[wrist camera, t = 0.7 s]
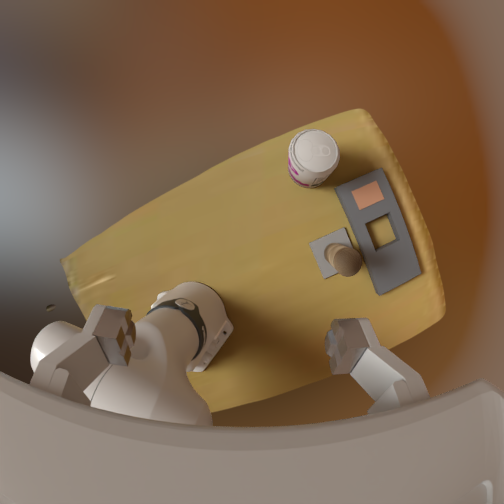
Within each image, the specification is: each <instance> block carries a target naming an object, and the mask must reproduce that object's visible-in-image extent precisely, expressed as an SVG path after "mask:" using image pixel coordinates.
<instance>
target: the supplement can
mask: <svg viewBox="0 0 504 504" xmlns="http://www.w3.org/2000/svg"><path fill="white" fill-rule="evenodd" d="M339 159H340V151H339V148H338V145H337V143H336V141H335V140H334V139H333V138H332V137H331V136H330V135H329V134H327V133H326V132H324V131H322V130H317V129H308V130H304V131H302V132H300V133H298V134H297V135H296V136H295V137H294V138H293V139H292V141H291V143H290V146H289V157H288V172H289V174H290V177H291V179H292V180H293V181H294V182H295V183H296V184H298V185H299V186H301V187H305V188H314V187H317V186H319V185H320V184H322V183H323V182H324V181H325V179H326V178H327V177H328V176H329V175H330V174H331V173H332V172H333V171H334V169H335V168H336V167H337V165H338V162H339Z"/></svg>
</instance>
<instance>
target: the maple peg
mask: <svg viewBox="0 0 504 504" xmlns="http://www.w3.org/2000/svg"><path fill="white" fill-rule="evenodd" d="M324 257H325V259H326V260H327V262H329V263H330V264H331V265H332V266H333V267H334V268H335V269H336V270H337V271H338V272H339V273H340V274H341V275H343V276H346V277H350V276H353V275H355V274H357V273H358V272H359V270H360V268H361V266H362V258H361V255H360V254H359V252H357V251H356V250H354V249H352V248H349V247H346V246H344V245H341V244H339V243H330V244H329V245H327V246H326V248H325V250H324Z"/></svg>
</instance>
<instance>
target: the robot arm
mask: <svg viewBox="0 0 504 504" xmlns="http://www.w3.org/2000/svg"><path fill="white" fill-rule="evenodd" d="M151 308H152V309H151V310H150V311H149V312H148V313H147V315H146V316H145V317H143V318H142V319H140V320H139V321H138V322H136V323H134V322H133V321H131V318H132V313H131V310H129V309H124V308H118V307H111V306H104V305H98V304H97V305H95V306H94V308H93V310H92V312H91V314H90V316H89V318H88V320H87V322H86V324H85V326H84V329H81V328H78V327H76V326H74V325H71V324H69V323H66V322H63V321H57V322H54V323H52V324H49V325H47V326H46V327H45V328H43V329H42V330H41V331H40V332H39V334H38V335H37V337H36V339H35V340H34V343H33V346H32V350H31V366H32V369H33V371H34V375H33V377H32V380H31V382H30V385H28V384H26V383H24V382H21V381H19V380H17V379H15V378H12V377H10V376H8V375H6V374H4V373H2V372H0V504H504V392H503V391H502V390H501V389H499V388H498V387H497V386H495V385H494V384H493V383H491V382H489V381H488V380H486V379H482V378H481V379H478V380H475V381H473V382H471V383H469V384H466V385H464V386H461V387H459V388H456V389H454V390H451V391H449V392H446V393H443V394H440V395H438V396H435V397H432V398H430V396H429V394H428V391H427V389H426V387H425V384H424V382H423V380H422V377H421V375H420V374H418V373H417V372H416V371H415V370H413V369H412V368H411V367H410V366H408V365H407V364H406V363H404V362H403V361H402V360H401V359H399V358H398V357H397V356H396V355H394V354H393V353H392V352H391V351H389V350H388V349H387V348H385V347H384V346H381V345H380V343H379V341H378V339H377V336H376V334H375V332H374V330H373V328H372V325H371V323H370V321H369V319H367V318H349V319H334V320H333V321H332V323H331V328H332V329H331V330H330V331H329V332H327V335H326V337H325V350H326V353H327V354H328V355H329V356H330V357H331V359H330V361H329V365H330V368H331V372H332V375H334V374H348V373H350V375H351V376H352V377H353V378H354V379H355V380H356V381H357V382H358V383H359V384H360V386H361V387H362V388H363V389H364V390H365V391H366V392H367V393H368V394H369V395H370V396H371V397H372V399H373V400H374V401H375V403H374V404H373V405H372V406H371V407H370V408H369V409H368V411H367V412H368V415H364V416H359V417H354V418H348V419H342V420H336V421H329V422H321V423H312V424H303V425H291V426H273V427H219V426H212V416H211V413H210V410H209V407H208V405H207V403H206V401H205V400H204V399H202V397H201V396H200V395H199V394H198V393H197V392H196V391H195V390H194V388H193V387H192V385H191V383H190V381H189V379H188V377H187V374H186V372H190V371H195V372H202V371H204V369H205V368H206V367H207V366H208V364H209V363H210V362H211V360H212V359H213V357H214V356H215V355H216V353H217V352H218V351H219V349H220V348H221V347H222V345H223V344H224V342H225V341H226V340H227V338H228V337H229V335H230V334H231V333H232V331H233V325H232V323H231V322H230V320H229V319H228V318H227V315H226V312H225V308H224V305H223V302H222V300H221V299H220V297H219V296H218V295H217V293H216V292H215V291H213V290H212V289H211V288H209V287H208V286H206V285H204V284H201V283H197V282H186V283H182V284H180V285H178V286H176V287H175V288H173V289H172V290H170V291H164V292H161V293H160V294H159V295H158V297H157V301H156V302H155V303H154V304H153V305H152V306H151ZM223 331H226V332H227V333H224V332H223Z"/></svg>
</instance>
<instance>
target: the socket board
mask: <svg viewBox="0 0 504 504" xmlns="http://www.w3.org/2000/svg"><path fill="white" fill-rule="evenodd" d="M334 189H335V192H336V194H337V196H338V198H339V200H340V203H341V205H342V207H343V209H344V211H345V214H346V216H347V218H348V221H349V223H350V225H351V228H352V230H353V233H354V235H355V238H356V240H357V242H358V245H359V248H360V250H361V253H362V255H363V258H364V260H365V263H366V266H367V269H368V271H369V274H370V277H371V280H372V282H373V285H374V288H375V291H376V293H377V294H378V295H379V296H380V295H382V294H384V293H386V292H388V291H389V290H391V289H393V288H395V287H397V286H399V285H401V284H403V283H405V282H407V281H408V280H410V279H412V278H414V277H416V276H417V275H419V274H421V271H420V267H419V264H418V260H417V257H416V254H415V251H414V248H413V245H412V242H411V239H410V236H409V233H408V230H407V227H406V225H405V222H404V219H403V217H402V214H401V211H400V209H399V206H398V204H397V201H396V199H395V197H394V194H393V192H392V190H391V187H390V185H389V183H388V180H387V178H386V176H385V174H384V172H383V170H382V168H380V169H377V170H375V171H372V172H370V173H368V174H365V175H363V176H361V177H358V178H356V179H354V180H351V181H349V182H347V183H345V184H342V185H340V186H338V187H336V188H334ZM384 214H387V216H388V219H389V222H390V224H391V227H392V229H393V232H394V235H395V238H396V239H395V240H393V241H391V242H389V243H387V244H385V245H383V246H381V247H379V248H377V249H375V248H374V246H373V243H372V241H371V238H370V236H369V233H368V230H367V228H366V226H365V223H367V222H370V221H372V220H374V219H376V218H378V217H380V216H382V215H384Z"/></svg>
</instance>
